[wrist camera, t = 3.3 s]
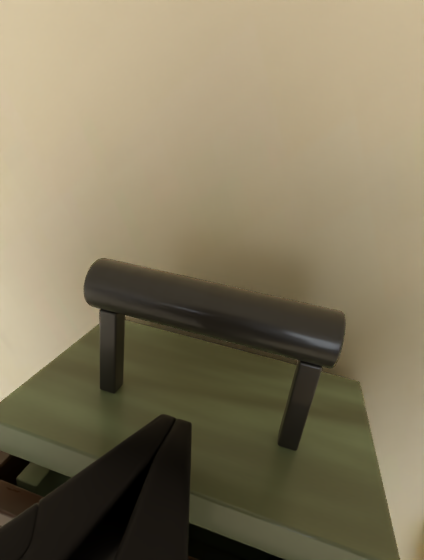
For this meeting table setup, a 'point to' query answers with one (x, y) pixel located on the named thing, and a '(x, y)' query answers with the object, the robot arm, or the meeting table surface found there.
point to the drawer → (215, 415)
